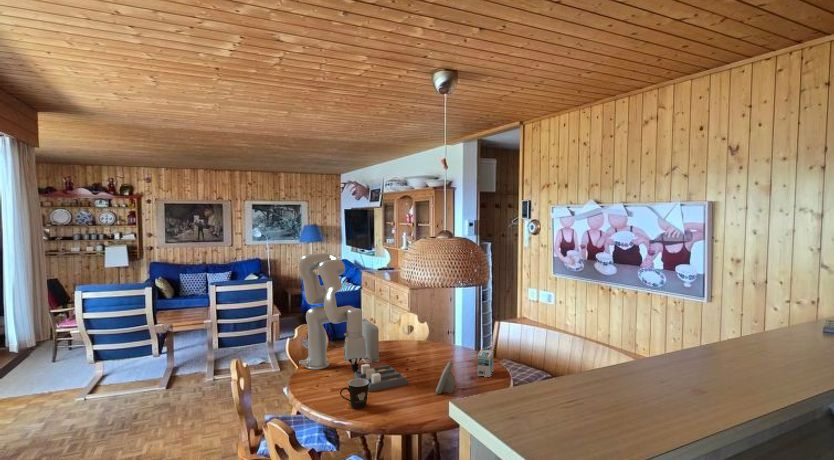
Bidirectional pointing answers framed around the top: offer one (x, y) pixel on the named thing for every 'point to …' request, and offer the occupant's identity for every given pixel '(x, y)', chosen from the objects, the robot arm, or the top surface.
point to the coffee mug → (357, 393)
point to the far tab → (364, 368)
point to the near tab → (375, 378)
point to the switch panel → (383, 378)
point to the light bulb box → (485, 363)
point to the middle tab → (369, 373)
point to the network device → (370, 341)
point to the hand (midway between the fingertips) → (354, 371)
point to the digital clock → (446, 380)
